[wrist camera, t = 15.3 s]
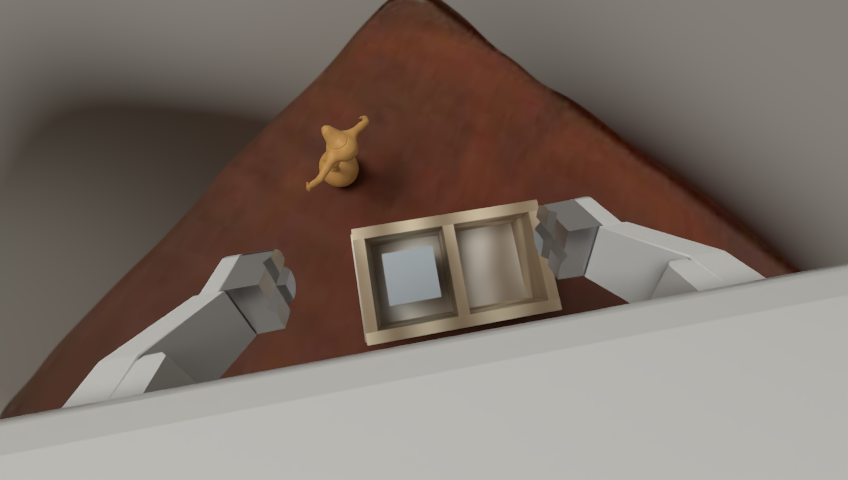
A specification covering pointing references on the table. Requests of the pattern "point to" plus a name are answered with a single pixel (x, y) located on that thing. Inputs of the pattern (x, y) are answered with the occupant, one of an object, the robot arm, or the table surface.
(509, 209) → the wooden divided tray
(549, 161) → the table surface
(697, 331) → the robot arm
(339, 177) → the figurine
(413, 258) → the grey peg
